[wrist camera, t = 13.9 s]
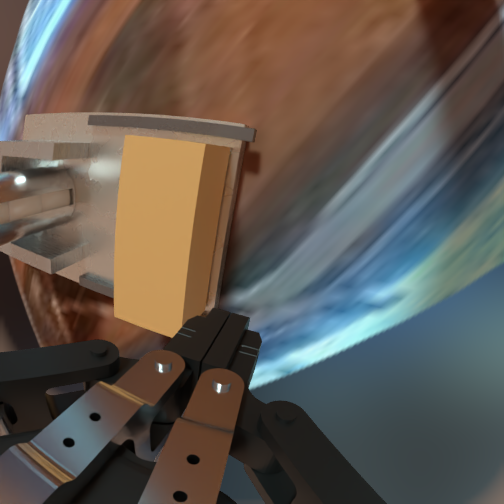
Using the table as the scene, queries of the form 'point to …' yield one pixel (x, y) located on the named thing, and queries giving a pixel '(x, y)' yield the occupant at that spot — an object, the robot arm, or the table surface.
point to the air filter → (34, 201)
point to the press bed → (109, 187)
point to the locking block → (166, 230)
